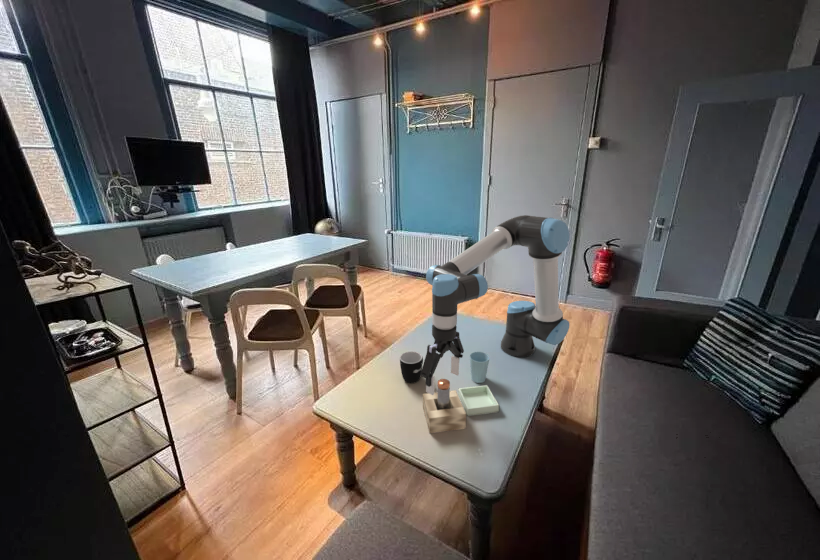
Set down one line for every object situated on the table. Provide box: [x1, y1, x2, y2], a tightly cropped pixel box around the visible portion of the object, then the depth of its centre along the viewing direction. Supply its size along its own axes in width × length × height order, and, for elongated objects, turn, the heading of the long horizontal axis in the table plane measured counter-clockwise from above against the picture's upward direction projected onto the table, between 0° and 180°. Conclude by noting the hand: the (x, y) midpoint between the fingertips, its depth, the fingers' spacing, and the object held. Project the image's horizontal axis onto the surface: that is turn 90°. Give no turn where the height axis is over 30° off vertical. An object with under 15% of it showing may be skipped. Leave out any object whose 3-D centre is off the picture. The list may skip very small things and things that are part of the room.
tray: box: [457, 384, 500, 417], centre depth 118 cm, size 11×11×3 cm
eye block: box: [422, 389, 467, 434], centre depth 111 cm, size 12×12×6 cm
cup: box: [469, 351, 490, 384], centre depth 130 cm, size 8×8×10 cm
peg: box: [437, 378, 451, 410], centre depth 109 cm, size 4×4×14 cm
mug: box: [399, 351, 424, 384], centre depth 132 cm, size 12×9×10 cm
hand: (442, 383), depth 107 cm, fingers open, 13 cm apart
